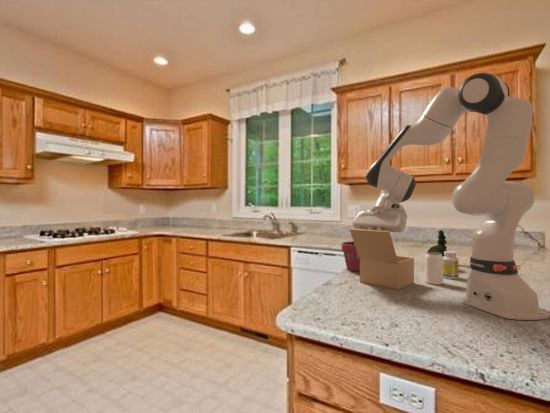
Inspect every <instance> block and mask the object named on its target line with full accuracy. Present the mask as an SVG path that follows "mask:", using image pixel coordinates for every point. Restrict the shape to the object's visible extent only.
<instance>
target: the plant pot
mask: <svg viewBox="0 0 550 413" xmlns="http://www.w3.org/2000/svg"><path fill="white" fill-rule="evenodd" d="M341 252H343V256H344V262H345V264H346V266H345V267H346V270H347V269H348V271H350V272H360V258H359V256H358V253H357V250H356V247H355V244H354V241H345V242H342V243H341Z"/></svg>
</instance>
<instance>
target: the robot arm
mask: <svg viewBox="0 0 550 413" xmlns="http://www.w3.org/2000/svg"><path fill="white" fill-rule="evenodd" d="M533 109H534V108H533V105H532V103H531V102H530V101H529V100H527V99H524V98H521V97H511V96H510V88H509V85H508V84H507V83H506V82H505V81H504V80H503V79H502V78H501V77H498V76H497V75H494V74H491V73H488V72H479V73H475V74H472V75H470V76H469V77H468V76H467V78H466V79H465V80H464V81H463V82H462V83H461V85H460V86H459V88H457V87H454V86H447V87H442V88H441V89H440V90H439V91H438V92H437V93H436V94H435V95H434V96H433V98H432V99H431V100H430V102H429V103H428V105H427V106H426V108H425V109H424V110H423V113H422V114H421V116H420V117H419V118H418V120H417V121H415V122H414V123H412V124H409V125H408V124H407V125H405V126H404V127H403V128H402V129H401V130H400V131H399V132H398V133H397V135H396V136H395V137H393V139H392V141H391V142H390V143H389V144H388V146H387V147H386V148H385V150H384V151H383V152H382V153H381V155H380V156H379V157H378V158H377V160H375V161H374V162H373V163H372V164H371V165H370V166H369V168H368V169H367V171H366V175H365V179H366V182H367V183H368V185H369V186H371V187H373V188H377V189H379V190H381V191H380V193H379V196H378V198H376V201H375V203H374V204H373V206H372V208H371V209H370V210H369V209H368V210H367V209H363V210H362V211H359V213H357V215H356V216H355V217H354V219H353V220H352V226H353V227H354V229H365V230H379V231H390V233H399V234H400V233H402V232H404V231H405V229H406V226H407V219H408V214H407V211H406V209H405V207H404V205H403V204H401V203H404V202H406V201H408V200H409V199H410V198H411V197H412V194H413V192H414V190H415V188H416V186H417V183H416V181H417V180H416V179H415V177H414V176H413V175H410V173H407V172H405V171H402V170H400V169H398V168H396V167H393V166H392V165H390V164H389V162H391V160H392V159H393V158H394V157H395V155H396V154H397V153H398V152H399V150H401V149H402V148H403V147H406V146H410V145H411V146H412V145H413V146H415V145H416V146H433V145H437V144H440V143H442V142H443V141H445V139H447V137H448V136H449V135H450V134H451V132H452V131H453V129H454V127H455V126H456V125H457V123H458V121H459V119H461V117H462V116H463V115H464V114H466V113H467V112H468V113H478V114H482V115H485V116H486V118H487V126H486V130H485V131H486V132H485V136H484V141H483V145H482V149H481V153H480V156H479V159H478V162H477V164H476V165H475V167H474V169H473V171H472V172H471V173H470V174H469V176H468V177H467V178H466V179H465V180H463V182H461V183H460V184H458V185H457V186H456V187H455V188H454V190H453V192H452V195H451V201H452V205H453V207H454V209H455V210H456V211H457V212H459V213H461V214H466V215H468V216H469V215H470V216H475V217H478V216H481V217H482V216H484V220H483V222H482V223H481V225H480V226H479V227H478V228H477V229H475V230H474V231H473V232H472V235H471V257H470V259H469V268H470V269H471V270H470V272H469V275H468V276H467V282H466V289H465V298H463V299H462V304H464V305H467V306H470V307H473V308H476V309H479V310H480V311H484V312H487V313H490V314H493V315H495V316H498V317H501V318H503V319H509V320H519V321H521V320H522V321H534V320H535V321H537V320H538V321H539V320H546V319H549V318H550V313H549V312H547V311H545V310H544V309H541V308H540V302H539V297H538V294H537V292H536V291H534V289H532V288H531V286H530V285H529V284H528V283H527V282H526V281H525V280H524V279H523V278H522V277H521V275H519V270H521V268H519V267H522V265H517V264H516V261H515V260H514V247H515V246H514V244H515V236H516V232H517V227H518V226H519V223H520V222H521V219H522V217H523V216H524V215H525V214H526V213H527V212H528V211H530V209H531V208H532V207H533V205H534V204H535V193H534V191H533V190H532V188H531V187H530V186H528V185H526V184H523V183H521V182H516V181H512V180H511V181H509V180H508V181H507V178H508V177H509V176H510V175H511V173H512V172H513V171H516V170H517V169H518V168H520V167H521V166H522V165H523V164H524V161H525V156H526V154H527V153H526V151H527V148H528V144H529V141H530V137H531V136H530V135H531V131H532V126H533V111H534V110H533Z"/></svg>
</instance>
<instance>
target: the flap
mask: <svg viewBox="0 0 550 413" xmlns="http://www.w3.org/2000/svg"><path fill="white" fill-rule="evenodd" d="M349 232H350V236H351V239H352V242H354V244H355V247H356V250H357V253H358V256H359V258H361V259H369V260H376V261H383V262H390V263H397V264H398V260H397V256H398V255H397V253H396V250H395V246H394V242H393V238H392V235H391V232H390V231H379V230H365V229H355V228H349Z"/></svg>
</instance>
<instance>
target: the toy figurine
mask: <svg viewBox="0 0 550 413" xmlns="http://www.w3.org/2000/svg"><path fill="white" fill-rule="evenodd" d="M446 238H447V237H446V235H445V232H444V231H443V230H442V229H440V230H438V236H437V241H436V243H437V245H433V246H431V247H429V249H428V250H427V252H438V253H442V257H444V256H445V255H444V251H448V250H447V248H448V247H447V245H446V244H447V243H448V242H447V241H446Z"/></svg>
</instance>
